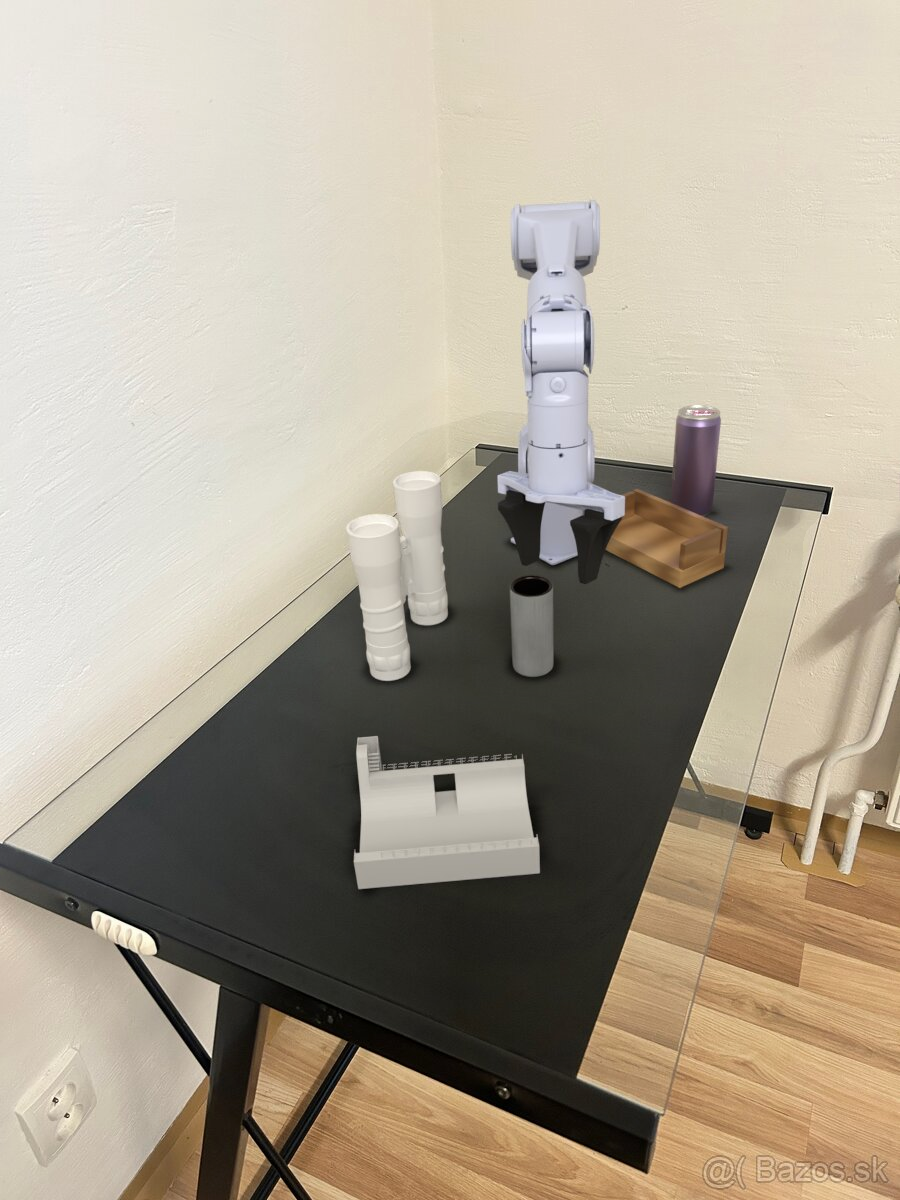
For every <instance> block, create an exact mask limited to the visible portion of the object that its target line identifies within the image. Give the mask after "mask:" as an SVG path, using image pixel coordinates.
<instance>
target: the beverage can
mask: <svg viewBox="0 0 900 1200" xmlns="http://www.w3.org/2000/svg"><path fill="white" fill-rule="evenodd" d="M721 424H722V418H721V410H720V409H718V408H717V407H715V406H712V405H711V406H710V405H703V404H694V405H693V404H692V405H685V406H683V407H680V408H679V409H678V411H677V416H676V418H675V431H674V432H675V433H674V445H673V458H672V459H673V461H672V474H671V487H670V488H671V489H670V501H669V502H670V503H672V504H675V505H677V506H679V507H682V508H684V509H687V510H689V511H691V512H694V513H696V514H698V515H701V516H703V517H706V516H708V515H709V514H710V513H711V512H712V510H713V507H714V496H715V487H716V477H717V467H718V457H719V456H718V454H719V447H720V446H719V445H720V434H721Z"/></svg>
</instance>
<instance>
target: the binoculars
mask: <svg viewBox="0 0 900 1200" xmlns="http://www.w3.org/2000/svg"><path fill="white" fill-rule="evenodd" d="M441 480H442V478H441V476H440V475H439V474H437V473H436V472H433V471H429V470H412V471H407V472H404V473H401V474H398V475H397V476H396V477H395V478H394V479H393V480H392V486H393V493H394V503H395V512H396V516H397V518H396V517H394V516H392V515H389V514H386V513H371V514H364V515H360V516H358V517H355V518H354V519H352V520H350V521H349V522H348V523H347V524H346V527H345V531H346V534H347V541H348V549H349V557H350V561H351V564H352V567H353V571H354V575H355V577H356V581H357V583H358V590H359V596H360V597H359V598H360V603H359V606H360V609H361V610H362V611H361V612H362V618H363V623H362V627H363V629H364V634H365V642H366V651H365V654H366V661H367V663H368V666H369V673H370V675H371V676H372V677H373V678H374V679H376V680H379V681H383V682H384V681H385V682H391V681H396V680H397V681H398V680H399V679H403V678H404V677H405V676H407V675H408V674H409V673H410V671H411V668H412V666H411V647H410V643H409V639H408V632H407V625H406V619H405V618H406V617H405V616H406V615H405V609H404V608H405V607H404V606H405V605H404V604H405V603H406V601H407V605H408V609H409V614H410V619H411V621H412V622H413V623H414V624H417V625H419V626H434V625H438V624H440V623H443V622H444V621H445V620H446V619H447V618H448V615H449V611H448V606H449V600H448V591H447V587H446V586H447V583H446V580H445V579H446V578H445V570H446V565H445V563H444V554H443V552H445V551H444V549H445V548H444V546H443V542H442V530H441V529H442V520H443V519H442V518H443V516H442V515H443V497H442V495H443V494H442V483H441V482H442V481H441ZM400 530H401V534H402V535H401V534H400Z"/></svg>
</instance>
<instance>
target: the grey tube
mask: <svg viewBox="0 0 900 1200" xmlns="http://www.w3.org/2000/svg"><path fill="white" fill-rule="evenodd" d="M509 605H510V630H511V631H510V632H511V634H510V635H511V658H512V660H511V661H512V662H511V663H512V669H513V670H514V671H515V672H516V673H517V674H519V675H521V676H524V677H530V678H536V677H542V676H545V675H547V674H548V673H549V672H551V671H552V670H553V667H554V584H553V582H552V581H551V580H550V579H549V578H547V577H545V576H541V575H535V574H534V575H531V574H530V575H523V576H520V577H517V578H515V579H514V580H512V582H511V583H510V584H509Z"/></svg>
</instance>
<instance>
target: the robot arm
mask: <svg viewBox="0 0 900 1200" xmlns="http://www.w3.org/2000/svg"><path fill="white" fill-rule="evenodd" d="M600 245H601V207H600V204H599V203H597V201H596V200H595V199H589V201H574V202H573V201H572V202H559V203H558V202H556V203H542V204H526V205H521V203H516V204H514V206H513V208H511V210H510V247H511V248H510V250H511V260H512V261H513V269H514V270H515V271H516V275H517V277H518V278H522V279H524V280H528V281H529V282H528V284H527V292H526V295H527V296H526V319H525V318H523V319H522V321H521V332H520V333H521V339H520V341H521V367H522V371H523V376H524V383H525V385H524V386H525V397H527V403H526V404H527V405H526V406H527V422H526V423H525V424H523V425H522V427H521V428H520V430H519V432H518V446H517V448H518V449H517V452H518V453H517V469H518V470H517V471H512V470H509V471H506V472H503V473H501V474H498V475H497V493H498V494H500V495H505V497H504V499H502V500H500V501H498V502H497V511H499V513H500V514H501V516H502V517H503V519H504V521H505V522H506V524H507V526H508V528H509V531H510V533H511V534H512V537H511V538H510V543H512V544H514V545H515V546H516V550H517V552H518V556H519V561H520V563H521V565H522V566H524V567H528V566H531V565H532V564H534V563H537V562H539V561H540V560H541V561H543V562H545V563H547V564H549V565H551V566H555V565H558V564H560V563H563V562H565V561H567V560H570V559H572V558H575V557H577V576H578V581H579V584H583V585H587V584H589V583H591V582H593V581H596V580H597V579H598V576H599V571H600V568H601V565H602V560H603V558H604V555H605V553H606V551H607V550H606V547H607V545H608V542H609V540H610V538H611V536H612V534H613V533H614V531H615V529H616V528H617V526H618V524H619V523H620V521H621V520H622V516H624V515H625V496H622V494H617V493H615V492H612V491H609V490H607V489H605V488H603V487H601V486H598V485H596V484H594V481H595V467H596V466H595V462H596V461H595V458H596V457H595V442H594V430H593V429H592V427H591V424H589V377H590V376H589V374H590V375H591V374H592V370H593V366H594V363H595V361H594V360H595V322H594V317H593V313H592V309H591V307H590V305H588V304H587V303H588V302H587V291H586V290H587V289H586V281H585V279H584V277H586V276H588V275H590V274H592V273H594V269H595V267H596V266H597V263H598V256H599V255H600ZM584 366H585V367H586V368H587V369H588V373H589V374H588V373H587V372H586V371H585V370H584Z"/></svg>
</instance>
